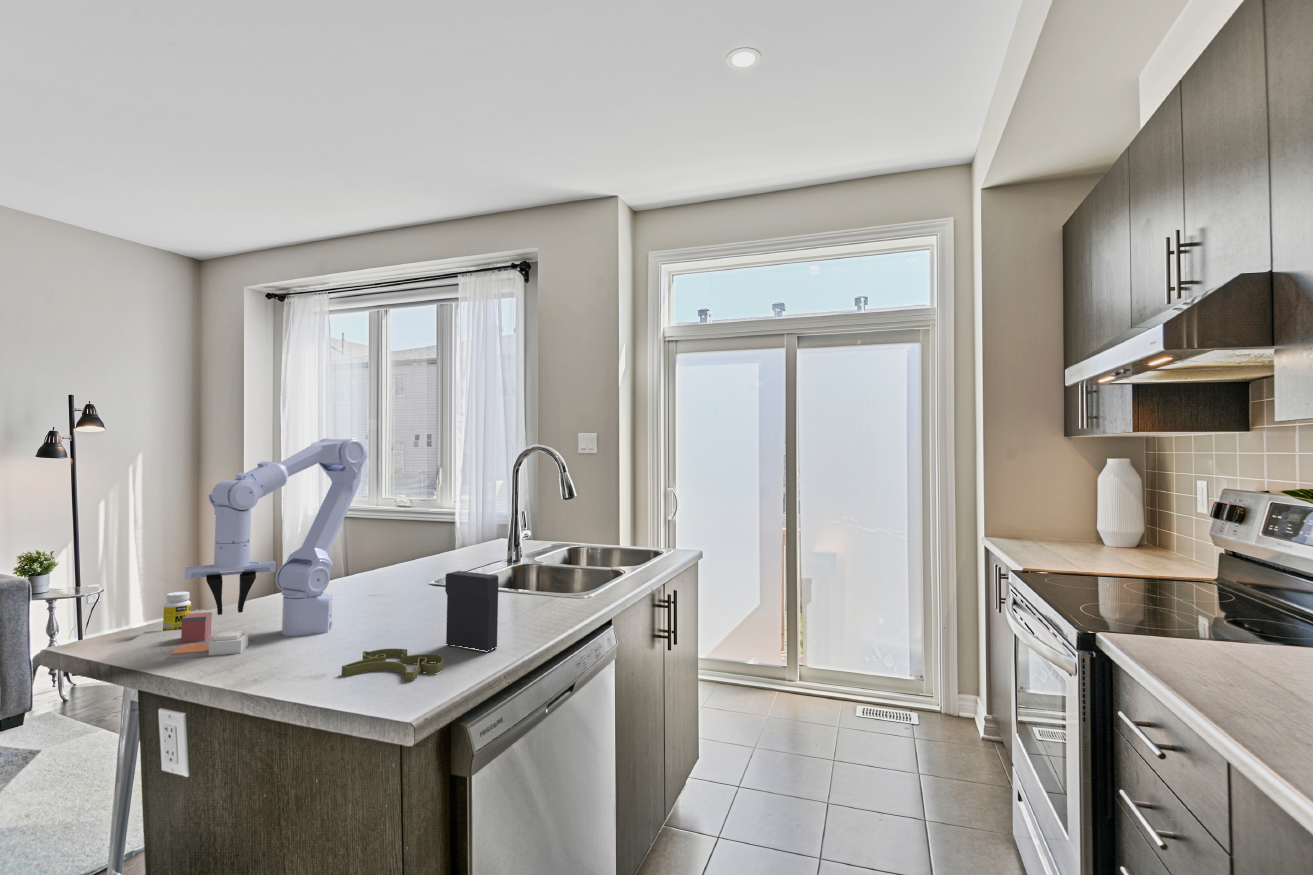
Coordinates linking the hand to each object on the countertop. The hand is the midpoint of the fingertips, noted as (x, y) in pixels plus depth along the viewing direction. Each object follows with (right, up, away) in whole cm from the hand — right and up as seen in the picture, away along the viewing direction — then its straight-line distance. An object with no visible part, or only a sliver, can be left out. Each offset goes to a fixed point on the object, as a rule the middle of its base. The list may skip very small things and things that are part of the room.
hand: (230, 612), depth 122 cm
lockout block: (-12, -9, +7) cm, 16 cm away
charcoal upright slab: (+44, -10, +8) cm, 46 cm away
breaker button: (0, -7, 0) cm, 7 cm away
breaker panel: (-4, -8, 0) cm, 9 cm away
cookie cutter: (+34, -9, -6) cm, 36 cm away
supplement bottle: (-23, -9, +16) cm, 29 cm away
